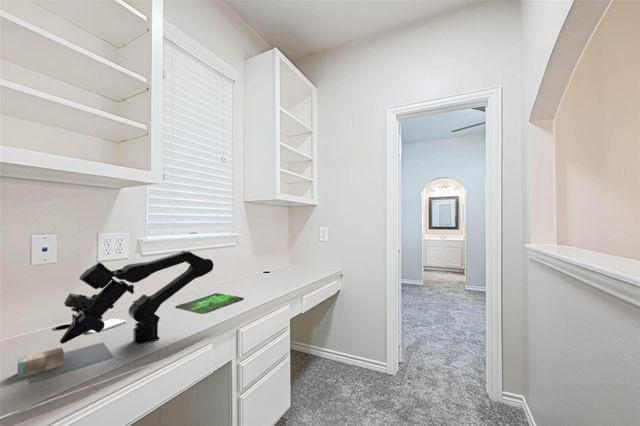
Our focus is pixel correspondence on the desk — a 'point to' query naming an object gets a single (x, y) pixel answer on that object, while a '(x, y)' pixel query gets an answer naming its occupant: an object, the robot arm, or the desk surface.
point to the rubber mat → (75, 361)
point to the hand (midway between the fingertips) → (61, 342)
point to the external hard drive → (109, 325)
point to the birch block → (40, 362)
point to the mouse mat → (209, 303)
